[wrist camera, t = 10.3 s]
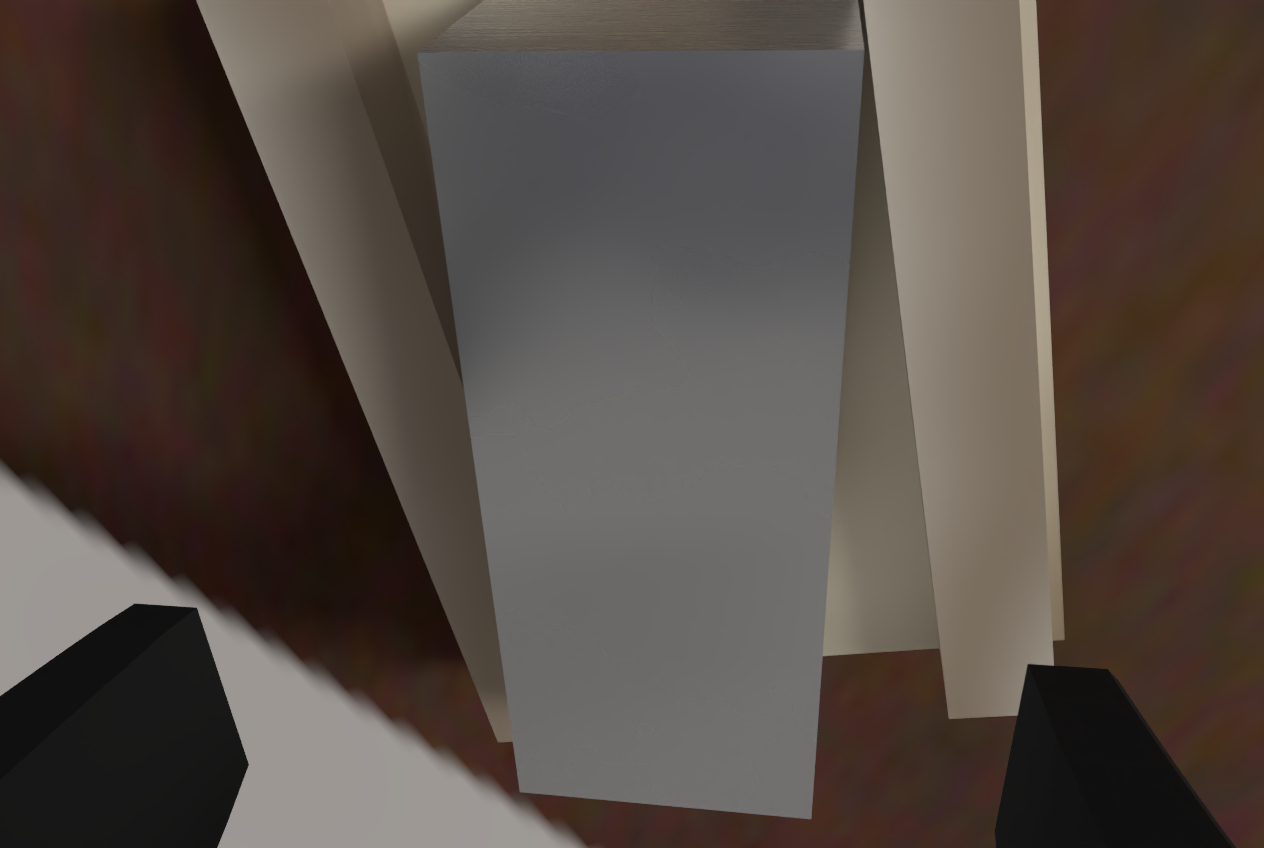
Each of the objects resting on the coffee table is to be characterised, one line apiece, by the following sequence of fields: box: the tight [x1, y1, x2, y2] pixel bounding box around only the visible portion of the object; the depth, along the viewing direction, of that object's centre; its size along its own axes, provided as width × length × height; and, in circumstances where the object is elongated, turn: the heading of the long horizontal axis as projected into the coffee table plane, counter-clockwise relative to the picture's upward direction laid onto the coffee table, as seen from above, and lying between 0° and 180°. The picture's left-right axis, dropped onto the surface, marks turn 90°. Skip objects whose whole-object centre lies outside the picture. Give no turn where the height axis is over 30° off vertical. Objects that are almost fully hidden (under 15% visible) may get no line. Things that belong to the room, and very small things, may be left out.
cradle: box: [196, 0, 1064, 742], centre depth 16 cm, size 10×13×3 cm
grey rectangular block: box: [417, 0, 864, 819], centre depth 14 cm, size 4×10×4 cm, turn 2°
